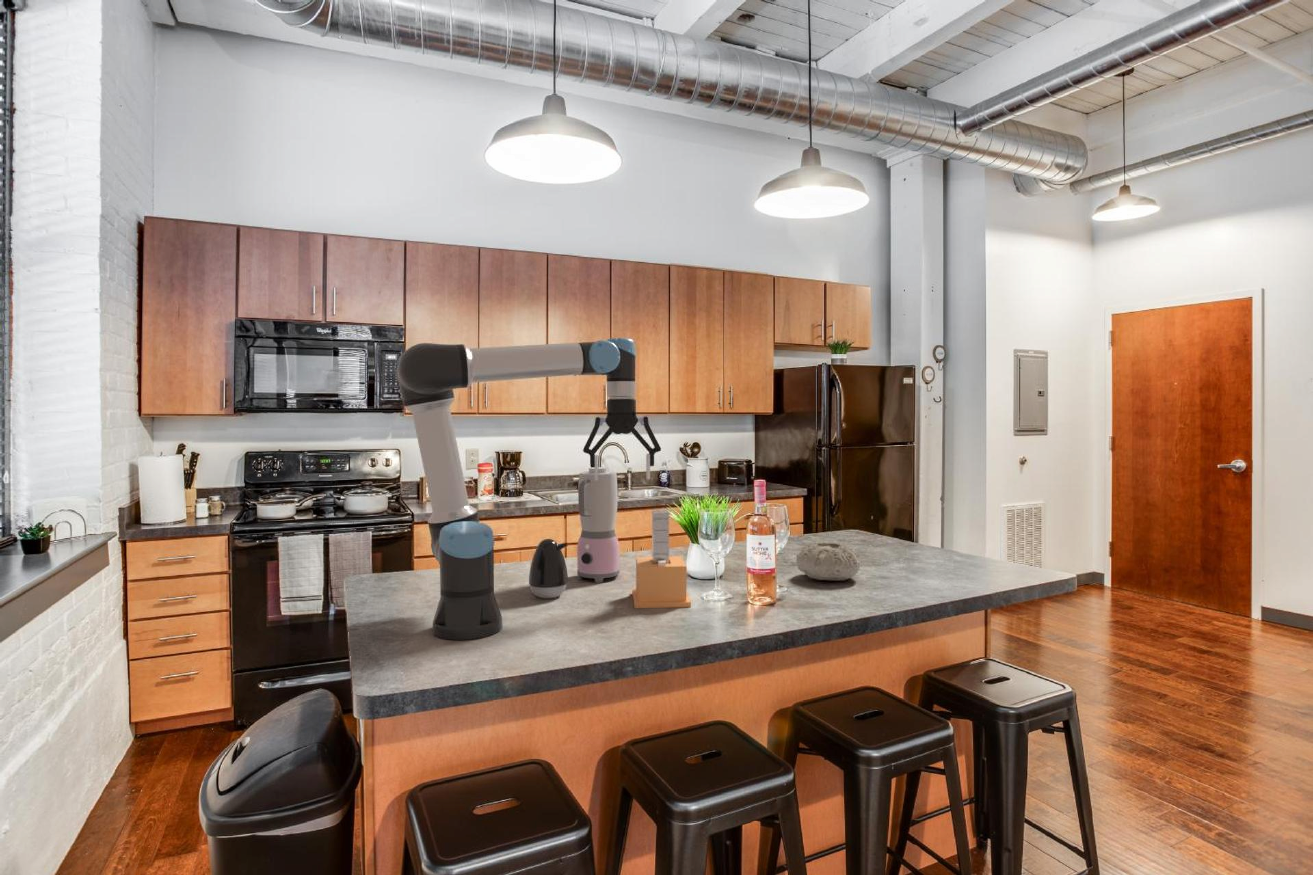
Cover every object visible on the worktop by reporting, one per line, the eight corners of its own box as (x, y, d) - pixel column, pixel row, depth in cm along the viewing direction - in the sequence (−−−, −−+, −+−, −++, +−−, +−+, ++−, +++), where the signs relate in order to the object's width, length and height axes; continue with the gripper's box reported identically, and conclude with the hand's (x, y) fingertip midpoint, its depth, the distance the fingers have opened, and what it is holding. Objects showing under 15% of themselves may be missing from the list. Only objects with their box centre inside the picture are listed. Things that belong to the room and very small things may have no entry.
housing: (690, 606, 179) (690, 563, 179) (634, 608, 178) (634, 564, 178) (684, 592, 193) (684, 551, 193) (632, 593, 192) (632, 552, 192)
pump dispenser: (561, 602, 183) (561, 543, 183) (522, 600, 186) (522, 541, 185) (573, 592, 193) (573, 536, 193) (537, 590, 195) (536, 534, 195)
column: (670, 597, 183) (670, 512, 182) (652, 597, 182) (652, 513, 181) (668, 590, 189) (668, 509, 188) (651, 591, 188) (651, 509, 187)
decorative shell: (863, 587, 198) (863, 551, 198) (797, 585, 201) (797, 549, 200) (855, 572, 216) (856, 539, 215) (795, 570, 218) (795, 537, 218)
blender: (592, 570, 218) (591, 465, 217) (627, 575, 212) (627, 467, 211) (562, 582, 204) (561, 469, 203) (598, 587, 198) (598, 471, 197)
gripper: (667, 397, 192) (668, 476, 193) (573, 398, 190) (574, 478, 191) (670, 397, 185) (671, 479, 186) (572, 398, 182) (574, 482, 183)
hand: (622, 479), depth 188 cm, fingers open, 13 cm apart
